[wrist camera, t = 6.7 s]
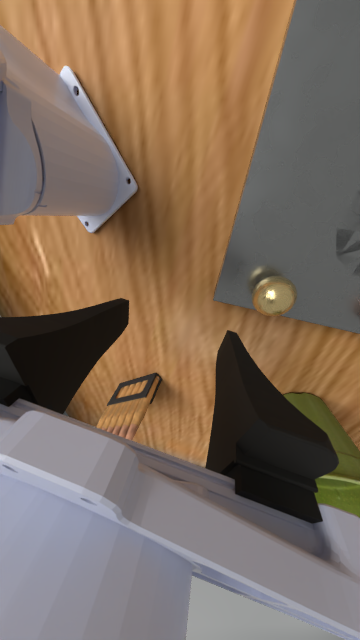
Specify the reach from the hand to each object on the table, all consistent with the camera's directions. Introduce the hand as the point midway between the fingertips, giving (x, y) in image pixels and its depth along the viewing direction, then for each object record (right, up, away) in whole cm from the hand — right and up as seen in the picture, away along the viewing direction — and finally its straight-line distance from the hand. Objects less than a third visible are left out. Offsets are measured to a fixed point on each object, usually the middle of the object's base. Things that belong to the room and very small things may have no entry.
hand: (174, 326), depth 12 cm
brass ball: (+9, +3, +3) cm, 10 cm away
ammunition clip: (-8, -12, +22) cm, 26 cm away
